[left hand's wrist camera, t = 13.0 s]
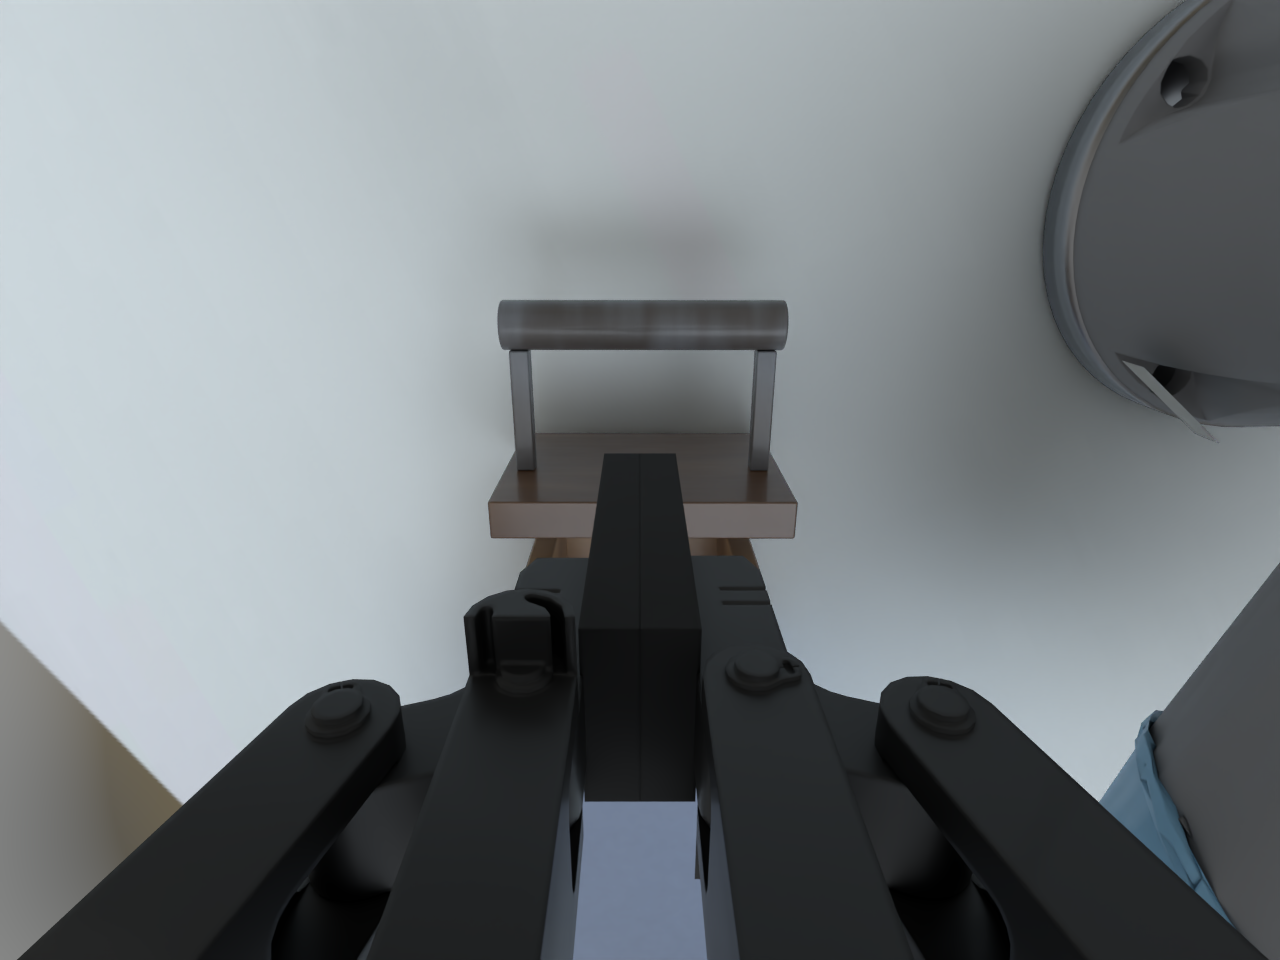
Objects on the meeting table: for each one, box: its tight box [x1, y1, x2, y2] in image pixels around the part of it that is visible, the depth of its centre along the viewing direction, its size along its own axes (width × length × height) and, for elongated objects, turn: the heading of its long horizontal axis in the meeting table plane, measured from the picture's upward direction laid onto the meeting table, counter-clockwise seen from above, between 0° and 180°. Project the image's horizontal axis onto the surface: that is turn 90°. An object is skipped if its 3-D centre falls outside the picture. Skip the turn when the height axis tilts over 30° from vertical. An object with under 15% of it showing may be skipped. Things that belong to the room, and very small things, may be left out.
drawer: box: [488, 300, 798, 570], centre depth 26 cm, size 26×9×7 cm, turn 0°
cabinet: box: [573, 792, 707, 960], centre depth 31 cm, size 21×10×9 cm, turn 0°
